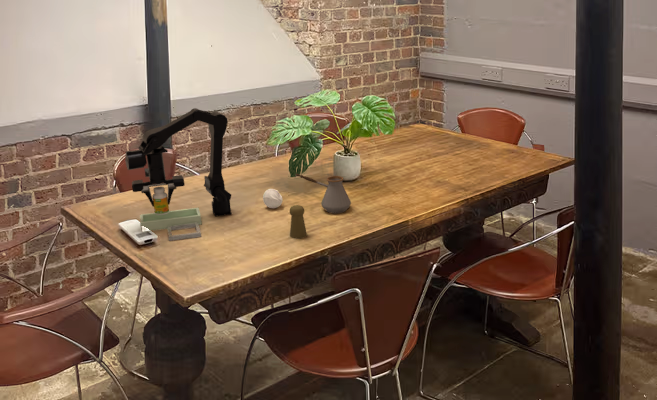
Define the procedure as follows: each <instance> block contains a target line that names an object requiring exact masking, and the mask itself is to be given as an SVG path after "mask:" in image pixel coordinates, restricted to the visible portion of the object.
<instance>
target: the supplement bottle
mask: <svg viewBox="0 0 657 400" xmlns="http://www.w3.org/2000/svg"><path fill="white" fill-rule="evenodd" d="M152 199H153V204H154V207H153V211H154V212H153V213H155V214H156V215H164V214H167V213H169V211H170V207H169V206H170V204H169V205H168V192H167V193H166V190H165V187H164V186H154V188H153V194H152Z"/></svg>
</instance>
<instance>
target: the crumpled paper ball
mask: <svg viewBox="0 0 657 400" xmlns="http://www.w3.org/2000/svg"><path fill="white" fill-rule="evenodd" d="M262 195H263V196H262V201H263V204H264V205H265V206H266V207H268V208H270V209H277V208H279V207H280V206H281V205H282V203H283V200H284V199H283V196H282V195H281V193H280V192H279V190H277V189H275V188H268V189H266V190H265V191H264V193H263V194H262Z"/></svg>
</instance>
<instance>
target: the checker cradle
mask: <svg viewBox="0 0 657 400" xmlns="http://www.w3.org/2000/svg"><path fill="white" fill-rule="evenodd" d="M194 228H195V231H196V232H188V233H181V234H173V235H172V231H179V230H185V229H194ZM166 230H167V235H168V241H169V242H171V241H180V240H186V239H194V238H196V239H197V238H201V237H202V233H201V228H200V225H199V224H198V222H195V223H187V224H179V225H171V226H167V229H166Z"/></svg>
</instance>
